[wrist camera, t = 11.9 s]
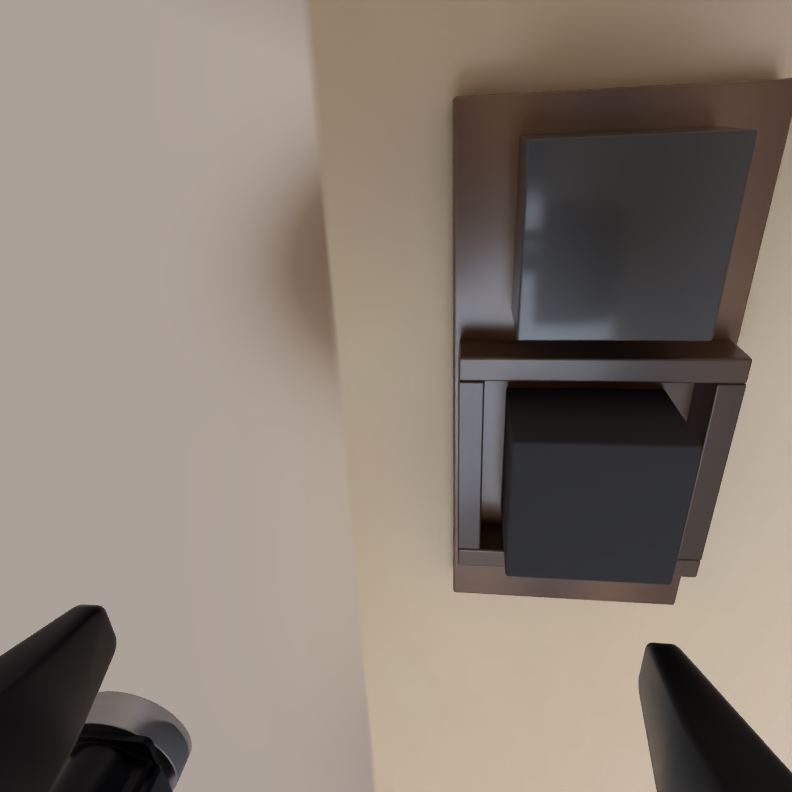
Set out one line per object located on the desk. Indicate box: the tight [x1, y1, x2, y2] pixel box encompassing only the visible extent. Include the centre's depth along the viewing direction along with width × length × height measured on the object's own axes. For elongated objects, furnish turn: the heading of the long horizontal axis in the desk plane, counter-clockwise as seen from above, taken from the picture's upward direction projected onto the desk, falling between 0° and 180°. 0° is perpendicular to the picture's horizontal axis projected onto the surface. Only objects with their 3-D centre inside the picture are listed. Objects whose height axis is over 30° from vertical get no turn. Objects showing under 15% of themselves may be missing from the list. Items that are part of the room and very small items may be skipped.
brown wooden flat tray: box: [453, 78, 792, 605], centre depth 18 cm, size 9×18×4 cm, turn 2°
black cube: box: [501, 388, 703, 585], centre depth 18 cm, size 5×5×4 cm
